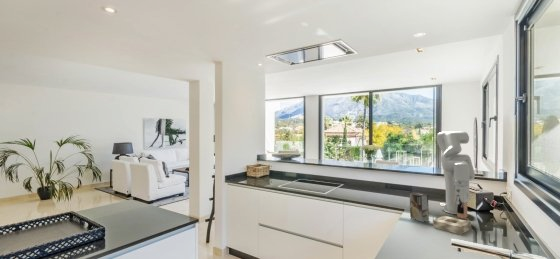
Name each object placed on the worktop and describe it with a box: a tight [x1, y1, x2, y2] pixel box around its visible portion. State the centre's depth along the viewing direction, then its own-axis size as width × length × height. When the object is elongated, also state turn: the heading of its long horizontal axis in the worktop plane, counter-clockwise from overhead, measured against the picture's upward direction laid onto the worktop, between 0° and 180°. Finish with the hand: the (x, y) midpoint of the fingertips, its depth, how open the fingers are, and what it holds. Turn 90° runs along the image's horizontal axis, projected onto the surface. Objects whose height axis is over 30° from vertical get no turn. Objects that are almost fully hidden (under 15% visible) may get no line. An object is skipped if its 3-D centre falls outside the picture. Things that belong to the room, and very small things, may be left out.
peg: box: [456, 201, 468, 219], centre depth 156 cm, size 4×4×11 cm
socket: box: [432, 215, 472, 235], centre depth 147 cm, size 14×14×4 cm
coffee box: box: [409, 192, 430, 223], centre depth 162 cm, size 9×6×16 cm
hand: (462, 212), depth 156 cm, fingers closed on peg, 4 cm apart
